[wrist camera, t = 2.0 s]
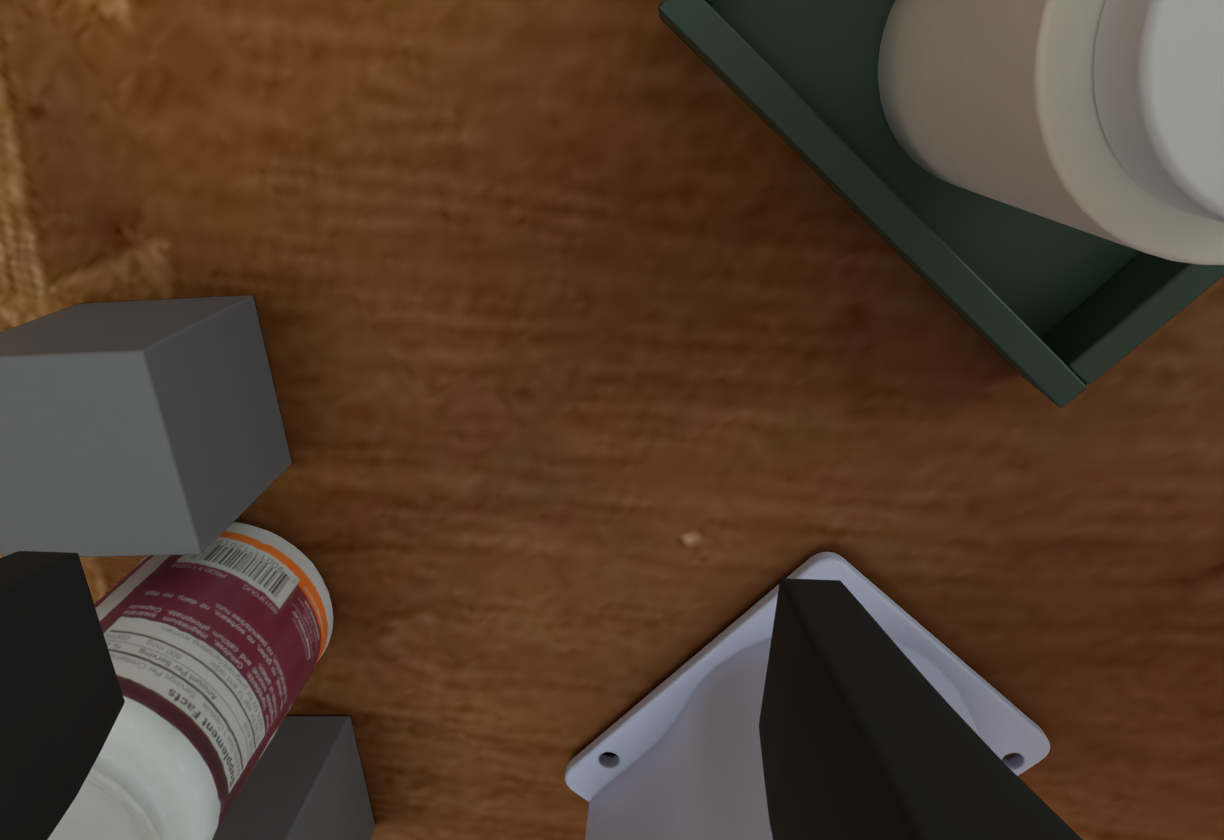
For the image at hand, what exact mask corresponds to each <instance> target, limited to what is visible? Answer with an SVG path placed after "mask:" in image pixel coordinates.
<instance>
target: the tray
mask: <svg viewBox="0 0 1224 840" xmlns="http://www.w3.org/2000/svg"><path fill="white" fill-rule="evenodd" d="M894 2H895V0H663V1H662V2H661V4H660V5H659V8H658V9H659V14H660V15H659V16H660V19H661V20H662V21H663V22H664V23H665V24H666V25H667V26H668V27H669V28H670V29H671V30H672V31H673V32H674V33H675V34H676V35H677V36H678V37H679V38H680V39H681V40H682V41H683V42H684V43H685V44H686V45H687V46H688V47H689V48H690V49H692V50H693V51H694V52H695V53H696V54H697V55H698V56H699V57H700V58H701V59H702V60H703V61H704V62H705V63H706V64H707V65H708V66H709V67H710V68H711V69H712V70H713V71H714V72H715V73H716V74H717V75H718V76H719V77H720V78H721V79H722V80H723V81H724V82H725V83H726V84H727V85H728V86H729V87H730V88H731V89H732V90H733V91H734V92H735V93H736V94H737V95H738V96H739V97H740V98H741V99H742V100H743V101H744V102H745V103H746V104H747V105H748V106H749V107H750V108H751V109H752V110H753V111H754V112H755V113H756V114H757V115H758V116H759V117H760V118H761V119H762V120H763V121H764V122H765V123H766V124H767V125H768V126H769V127H770V128H771V129H772V130H773V131H774V132H775V133H776V134H777V135H778V136H779V137H780V138H781V139H782V140H784V141H785V142H786V143H787V144H788V145H789V146H790V147H791V148H792V149H793V150H794V151H795V152H796V153H797V154H798V155H799V156H800V157H801V158H802V159H803V160H804V161H805V162H806V163H807V164H808V165H809V166H810V167H811V168H812V169H813V170H814V171H815V172H816V173H817V174H818V175H819V176H820V177H821V178H822V179H823V180H824V181H825V182H826V183H827V184H828V185H829V186H830V187H831V188H832V189H833V190H834V191H835V192H836V193H837V194H838V195H839V196H840V197H841V198H842V199H843V200H844V201H845V202H846V203H847V204H848V205H849V206H850V207H851V208H852V209H853V210H854V211H855V212H856V213H857V214H858V215H859V216H860V217H861V218H862V219H863V220H864V221H865V222H866V223H867V224H868V225H869V226H870V227H871V228H872V229H873V230H874V231H876V232H877V233H878V234H879V235H880V236H881V237H882V238H883V239H884V240H885V241H886V242H887V243H888V244H889V245H890V246H891V247H892V248H893V249H894V250H895V251H896V252H897V253H898V254H899V255H900V256H901V257H902V258H903V259H904V260H905V261H906V262H907V263H908V264H909V265H910V266H911V267H912V268H913V269H914V270H915V271H916V272H917V273H918V274H919V275H920V276H921V277H922V278H923V279H924V280H925V281H926V282H927V283H928V284H929V285H930V286H931V287H932V288H933V289H934V290H935V291H936V292H937V293H938V294H939V295H940V296H941V297H942V298H943V299H944V300H945V301H946V302H947V303H948V304H949V305H950V306H951V307H952V308H953V309H954V310H955V311H956V312H957V313H958V314H959V315H960V316H961V317H962V318H963V319H964V320H965V321H966V322H968V323H969V324H970V325H971V326H972V327H973V328H974V329H975V330H976V331H977V332H978V333H979V334H980V335H981V336H982V337H983V338H984V339H985V340H986V341H987V342H988V343H989V344H990V345H991V346H992V347H993V348H994V349H995V350H996V351H997V352H998V353H999V354H1000V355H1001V356H1002V357H1003V358H1004V359H1005V360H1006V361H1007V362H1008V363H1009V364H1010V365H1011V366H1012V367H1013V368H1014V369H1015V370H1016V371H1017V372H1018V373H1019V374H1020V375H1021V376H1022V377H1023V378H1025V379H1026V380H1027V381H1028V382H1030V383H1031V384H1032V385H1033V386H1034V387H1036V388H1037V389H1038V390H1039V391H1040V392H1042V393H1043V394H1044V395H1045V396H1046V397H1048V398H1049V399H1050V400H1051V401H1052V402H1054V403H1055V404H1056V405H1057V406H1058V407H1061V408H1062V407H1064V406H1065V405H1066V404H1068V403H1069V402H1070V401H1071V400H1072V399H1074V398H1075V397H1076V396H1077V395H1079V394H1080V393H1081V392H1082V391H1083V390H1085V389H1086V384H1088V385H1089V384H1091V383H1093V382H1094V381H1095V380H1096V379H1098V378H1099V377H1100V376H1101V375H1103V374H1104V373H1105V372H1106V371H1107V370H1109V369H1110V368H1111V367H1112V366H1114V365H1115V364H1116V363H1117V362H1118V361H1120V360H1121V359H1122V358H1123V357H1125V356H1126V355H1127V354H1128V353H1129V352H1131V351H1132V350H1133V349H1134V348H1136V347H1137V346H1138V345H1139V344H1141V343H1142V342H1143V341H1144V340H1145V339H1147V338H1148V337H1149V336H1150V335H1152V334H1153V333H1154V332H1155V331H1156V330H1158V329H1159V328H1160V327H1161V326H1163V325H1164V324H1165V323H1166V322H1167V321H1169V320H1170V319H1171V318H1172V317H1174V316H1175V315H1176V314H1177V313H1179V312H1180V311H1181V310H1182V309H1183V308H1185V307H1186V306H1187V305H1188V304H1190V303H1191V302H1192V301H1193V300H1194V299H1196V298H1197V297H1198V296H1199V295H1201V294H1202V293H1203V292H1204V291H1205V290H1207V289H1208V288H1209V287H1210V286H1212V285H1213V284H1214V283H1215V282H1217V281H1218V280H1219V279H1220V278H1221V277H1223V276H1224V265H1197V264H1190V263H1183V262H1176V261H1171V260H1167V259H1164V258H1160V257H1157V256H1153V255H1150V254H1146V253H1144V252H1141V251H1138V250H1135V249H1132V248H1129V247H1127V246H1124V245H1121V244H1118V243H1115V242H1113V241H1110V240H1107V239H1104V238H1101V237H1098V236H1096V235H1093V234H1090V233H1087V232H1084V231H1082V230H1079V229H1076V228H1073V227H1070V226H1068V225H1065V224H1062V223H1059V222H1056V221H1053V220H1051V219H1048V218H1045V217H1042V216H1039V215H1037V214H1034V213H1031V212H1028V211H1025V210H1022V209H1020V208H1017V207H1014V206H1011V205H1008V204H1006V203H1003V202H1000V201H997V200H994V199H992V198H989V197H986V196H983V195H980V194H977V193H975V192H972V191H969V190H966V189H963V188H961V187H958V186H955V185H952V184H949V183H947V182H945V181H943V180H941V179H938V178H936V177H934V176H933V175H931V174H930V173H928V172H927V171H925V170H924V169H922V168H921V167H920V166H919V165H918V164H917V163H915V162H914V161H913V160H912V159H911V158H910V157H909V156H908V155H907V153H906V152H905V151H904V150H903V149H902V147H901V146H900V145H899V143H898V142H897V140H896V138H895V137H894V135H893V133H892V132H891V129H890V127H889V125H888V122H887V120H886V118H885V115H884V111H883V107H882V104H881V100H880V93H879V86H878V60H879V51H880V44H881V40H882V36H883V31H884V27H885V24H886V22H887V19H888V16H889V13H890V11H891V8H892V6H893V4H894Z"/></svg>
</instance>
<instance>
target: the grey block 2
mask: <svg viewBox="0 0 1224 840" xmlns="http://www.w3.org/2000/svg"><path fill="white" fill-rule="evenodd" d="M374 830H375V822H374V817H373V813H372V809H371V804H370V800H369V796H368V792H367V787H366V783H365V779H364V774H363V770H362V766H361V761H360V757H359V753H358V748H357V744H356V740H355V735H354V731H353V727H352V722H351V718H350V717H349V716H285V718H284V720H283V722H282V723H281V725H280V727H279V728H278V730H277V732H276V733H275V735H274V737H273V739H272V740H271V742H270V743H269V744H268V746H267V748H266V749H265V751H264V752H263V754H262V756H261V757H260V759H259V761H258V763H257V764H256V766H255V768H254V769H253V771H252V773H251V775H250V776H249V778H248V780H247V781H246V783H245V784H244V785H243V787H242V789H241V791H240V793H239V795H238V797H237V799H236V800H235V802H234V803H233V805H232V806H231V808H230V810H229V811H228V813H227V815H226V817H225V818H224V820H223V822H222V824H221V825H220V827H219V828H218V830H217V832H216V834H215V836H214V837H213V839H212V840H371V837H372V835H373V832H374Z"/></svg>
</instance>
